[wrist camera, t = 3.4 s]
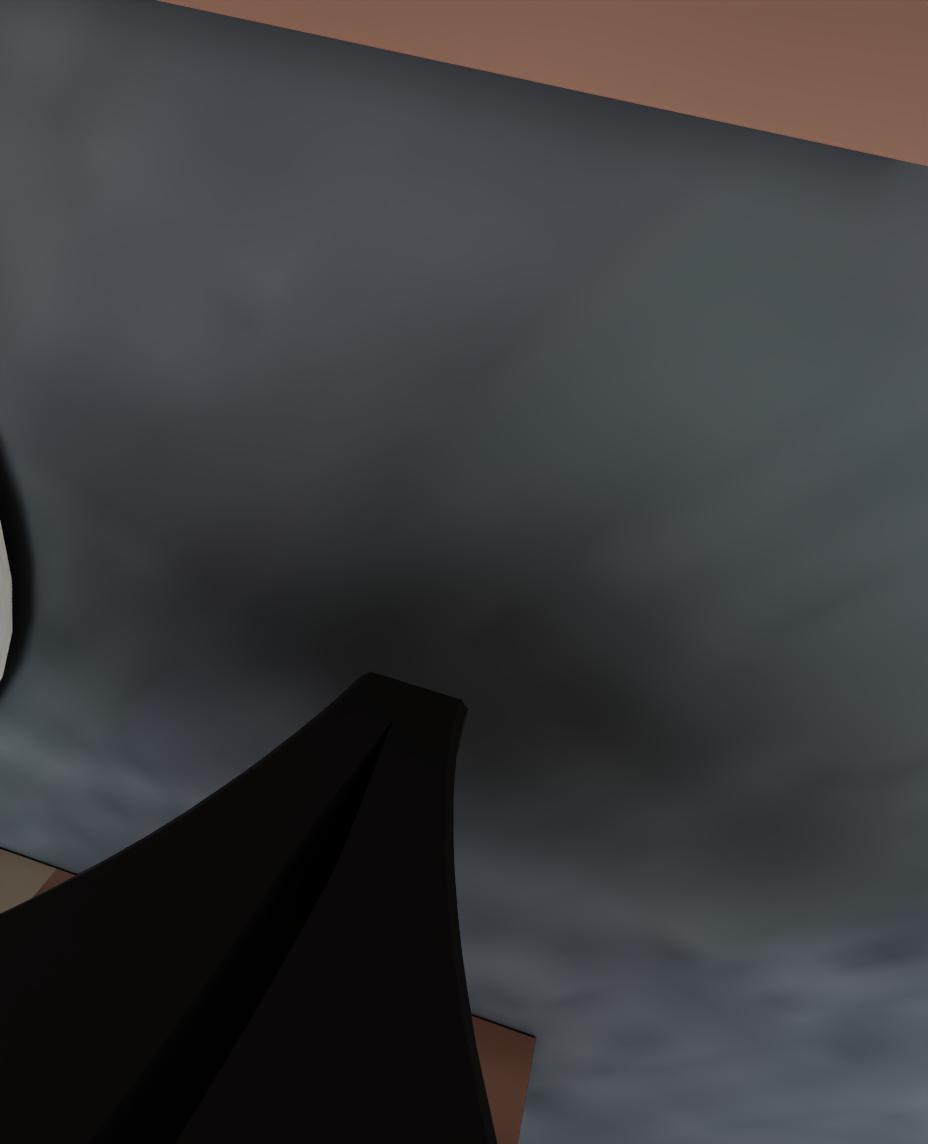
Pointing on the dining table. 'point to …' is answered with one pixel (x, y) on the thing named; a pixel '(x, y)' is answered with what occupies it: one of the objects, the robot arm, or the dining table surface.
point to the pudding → (4, 604)
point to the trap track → (657, 79)
